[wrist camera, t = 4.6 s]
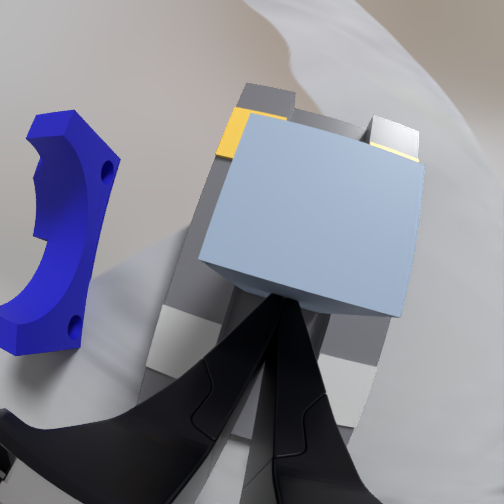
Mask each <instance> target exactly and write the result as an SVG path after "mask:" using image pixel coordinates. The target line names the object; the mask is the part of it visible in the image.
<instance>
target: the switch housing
mask: <svg viewBox="0 0 504 504" xmlns="http://www.w3.org/2000/svg"><path fill="white" fill-rule="evenodd" d="M295 94H296V93H295V92H291V91H286V90H281V89H277V88H272V87H267V86H262V85H257V84H251V83H246V85H245V87H244V90H243V92H242V94H241V96H240V99H239V101H238V104H237V106H236V107H234V110H233V112H232V114H231V117H230V119H229V121H228V124H227V126H226V129H225V131H224V134H223V136H222V138H221V141H220V143H219V146H218V148H217V151H216V153H215V155H216V157H215V160H214V162H213V165H212V167H211V170H210V173H209V175H208V178H207V181H206V183H205V186H204V188H203V191H202V194H201V196H200V199H199V202H198V205H197V207H196V210H195V213H194V216H193V219H192V221H191V224H190V227H189V230H188V233H187V236H186V239H185V242H184V245H183V248H182V251H181V254H180V257H179V260H178V263H177V266H176V269H175V272H174V275H173V278H172V281H171V284H170V288H169V291H168V294H167V297H166V300H165V304H164V305H162V309H161V312H160V315H159V319H158V322H157V326H156V329H155V333H154V336H153V340H152V343H151V347H150V351H149V354H148V358H147V362H146V365H145V366H147V367H146V371H145V375H144V378H143V382H142V386H141V390H140V394H139V398H138V402H137V405H138V404H140V403H142V402H143V401H145V400H146V399H148V398H149V397H151V396H153V395H154V394H156V393H157V392H159V391H160V390H162V389H163V388H165V387H166V386H168V385H169V384H171V383H172V382H173V381H175V380H176V379H178V378H179V377H180V376H182V375H183V374H184V373H185V372H186V371H188V370H189V369H190V368H191V367H192V366H193V365H195V364H196V363H197V362H198V361H199V360H200V359H203V357H204V356H205V355H206V354H207V353H208V352H209V351H210V350H211V349H212V348H213V347H215V346H216V345H217V344H218V343H219V342H220V341H221V340H222V339H223V338H224V337H225V336H226V335H227V334H229V333H230V332H231V331H232V330H233V329H234V328H235V327H236V326H237V325H238V324H239V323H240V322H241V321H242V320H243V319H245V318H246V317H247V316H248V315H249V314H250V313H251V312H252V311H253V310H254V309H255V308H256V307H257V306H258V305H259V304H260V303H261V302H262V301H263V300H264V299H266V298H265V297H261V296H258V295H255V294H251V293H248V292H245V291H243V290H242V289H240V288H239V287H238V286H236V285H235V284H233V283H232V282H230V281H229V280H227V279H226V278H224V277H223V276H222V275H220V274H219V273H217V272H216V271H214V270H213V269H211V268H210V267H209V266H207V265H206V264H204V263H203V262H201V261H200V260H199V259H198V257H199V254H200V251H201V248H202V245H203V242H204V239H205V236H206V233H207V230H208V228H209V225H210V222H211V219H212V216H213V213H214V210H215V207H216V204H217V202H218V199H219V196H220V193H221V190H222V187H223V185H224V182H225V179H226V176H227V174H228V171H229V168H230V165H231V163H232V160H233V157H234V155H235V152H236V149H237V147H238V144H239V141H240V139H241V136H242V134H243V131H244V128H245V126H246V123H247V121H248V118H249V116H250V113H254V114H259V115H264V116H268V117H273V118H277V119H282V120H286V121H290V122H294V123H298V124H302V125H306V126H309V127H313V128H317V129H321V130H324V131H328V132H331V133H335V134H338V135H341V136H345V137H348V138H351V139H354V140H357V141H360V142H364V143H367V144H370V145H373V146H376V147H378V148H381V149H384V150H387V151H390V152H393V153H395V154H398V155H401V156H403V157H406V158H409V159H411V160H414V161H416V162H419V159H418V146H419V132H418V131H416V130H414V129H411V128H408V127H406V126H403V125H401V124H398V123H395V122H393V121H390V120H387V119H384V118H381V117H379V116H376V115H373V117H372V119H371V121H370V123H369V125H368V127H367V129H366V128H363V127H360V126H357V125H353V124H350V123H347V122H344V121H340V120H337V119H333V118H330V117H326V116H323V115H319V114H315V113H312V112H307V111H303V110H300V109H296V108H294V105H295ZM301 310H302V314H303V317H304V320H305V323H306V326H307V329H308V333H309V336H310V339H311V342H312V346H313V349H314V352H315V355H316V359H317V362H318V365H319V369H320V372H321V375H322V379H323V382H324V385H325V389H326V394H327V395H328V399H329V402H330V405H331V409H332V412H333V415H334V418H335V421H336V423H337V426H338V428H339V431H340V433H341V436H342V438H343V440H344V443H345V445H346V446H347V444H348V442H349V439H350V437H351V435H352V432H353V430H354V428H356V427H357V424H358V422H359V419H360V417H361V414H362V411H363V409H364V406H365V404H366V401H367V398H368V395H369V393H370V390H371V387H372V384H373V381H374V378H375V375H376V372H377V369H378V367H377V364H378V361H379V358H380V354H381V351H382V348H383V344H384V341H385V338H386V334H387V330H388V327H389V323H390V319H391V317H376V316H357V315H341V314H326V313H317V312H313V311H309V310H306V309H302V308H301ZM264 364H265V363H264ZM263 369H264V365H263V368H262V370H261V372H260V374H259V377H258V379H257V381H256V383H255V385H254V387H253V389H252V391H251V394H250V396H249V398H248V400H247V402H246V404H245V406H244V408H243V410H242V412H241V414H240V416H239V418H238V420H237V423H236V425H235V427H234V429H233V431H232V433H231V434H234V435H237V436H240V437H244V438H247V439H251V440H252V434H253V428H254V423H255V417H256V411H257V405H258V399H259V393H260V387H261V381H262V375H263Z"/></svg>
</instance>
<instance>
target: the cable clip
mask: <svg viewBox="0 0 504 504" xmlns="http://www.w3.org/2000/svg"><path fill="white" fill-rule="evenodd" d="M26 139H27V140H28V141H29V142H30V143H31V144H32V145H33V146H34V148H35V149H36V150H37V152H38V153H39V155H40V160H39V162H38V165H37V168H36V171H35V174H34V177H33V179H34V185H35V191H36V220H35V227H34V233H33V236H34V237H37V238H39V239H42V240H45V241H47V245H46V248H45V252H44V255H43V257H42V260H41V262H40V265H39V267H38V269H37V271H36V273H35V274H34V276H33V278H32V279H31V281H30V282H29V283H28V285H27V286H26V287H25V289H24V290H23V291H22V292H21V293H20V294H19V295H18V296H16V297H15V298H14V299H12V300H11V301H9V302H8V303H5V304H3V305H1V306H0V348H2V349H3V350H5V351H7V352H9V353H11V354H13V355H14V356H20V355H29V354H37V353H45V352H52V351H59V350H66V349H73V348H80V346H81V336H82V327H83V319H84V312H85V305H86V298H87V292H88V286H89V281H90V280H91V278H92V272H93V266H94V262H95V256H96V252H97V247H98V243H99V238H100V234H101V229H102V225H103V221H104V217H105V213H106V209H107V205H108V202H109V198H110V194H111V190H112V187H113V184H114V180H115V177H116V174H117V171H118V167H119V164H120V161H121V159H120V158H119V157H118V156H117V155H116V154H115V153H114V152H113V151H112V150H111V148H109V146H108V145H107V144H106V143H105V142H104V141H103V140H102V139H101V138H100V137H99V136H98V135H97V134H96V133H95V132H94V131H93V129H92V128H91V127H90V126H89V125H88V124H87V123H86V122H85V121H84V120H83V119H82V117H81V116H80V115H79V114H78V113H77V112H76V111H75V110H68V111H60V112H53V113H47V114H40V115H36V117H35V119H34V121H33V123H32V125H31V128H30V130H29V132H28V135H27V137H26Z"/></svg>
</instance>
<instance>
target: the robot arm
mask: <svg viewBox="0 0 504 504" xmlns="http://www.w3.org/2000/svg"><path fill="white" fill-rule="evenodd" d="M264 363H265V364H264ZM263 365H264V369H263V375H262V381H261V387H260V393H259V399H258V405H257V411H256V417H255V423H254V428H253V434H252V440H251V445H250V451H249V456H248V462H247V467H246V472H245V478H244V483H243V488H242V489H243V490H242V493H241V498H240V503H239V504H383V503H381V502H380V501H379V500H378V499H377V498H376V497H375V496H374V495H373V494H372V493H371V492H370V491H369V490H368V489H367V488H366V487H365V485H364V484H363V482H362V480H361V479H360V477H359V475H358V473H357V470H356V468H355V466H354V463H353V461H352V459H351V457H350V454H349V452H348V450H347V447H346V445H345V443H344V440H343V438H342V436H341V433H340V431H339V428H338V426H337V423H336V421H335V418H334V415H333V412H332V409H331V405H330V402H329V399H328V395H327V394H326V389H325V385H324V382H323V379H322V375H321V372H320V369H319V365H318V362H317V359H316V355H315V352H314V349H313V346H312V342H311V339H310V336H309V333H308V329H307V326H306V323H305V320H304V317H303V314H302V310H301V307H300V304H299V302H298V301H297V300H293V299H290V298H285V299H284V297H283V296H280V295H276V294H273V293H271V294H270V295H269V296H268V297H267V298H266V299H264V300H263V301H262V302H261V303H260V304H259V305H258V306H257V307H256V308H255V309H254V310H253V311H252V312H251V313H250V314H249V315H248V316H247V317H246V318H245V319H243V320H242V321H241V322H240V323H239V324H238V325H237V326H236V327H235V328H234V329H233V330H232V331H231V332H230V333H229V334H227V335H226V336H225V337H224V338H223V339H222V340H221V341H220V342H219V343H218V344H217V345H216V346H215V347H213V348H212V349H211V350H210V351H209V352H208V353H207V354H206V355H205V356H204V357H203V359H200V360H199V361H198V362H197V363H196V364H195V365H193V366H192V367H191V368H190V369H189V370H188V371H186V372H185V373H184V374H183V375H182V376H180V377H179V378H178V379H176V380H175V381H173V382H172V383H171V384H169V385H168V386H166V387H165V388H163V389H162V390H160V391H159V392H157V393H156V394H154V395H153V396H151V397H149V398H148V399H146V400H145V401H143V402H142V403H140V404H138V405H137V406H135V407H134V408H132V409H130V410H129V411H127V412H125V413H123V414H121V415H119V416H117V417H114V418H111V419H108V420H103V421H98V422H93V423H88V424H82V425H76V426H70V427H64V428H57V429H46V430H44V429H37V428H34V427H31V426H29V425H27V424H25V423H24V422H23V421H21V420H20V419H19V418H18V417H16V416H15V415H14V414H13V413H11V412H10V411H9V410H7V409H5V408H3V409H0V504H194V503H195V501H196V499H197V497H198V495H199V494H200V492H201V490H202V488H203V486H204V484H205V483H206V481H207V479H208V477H209V475H210V473H211V471H212V469H213V468H214V466H215V464H216V462H217V460H218V458H219V456H220V454H221V452H222V450H223V448H224V446H225V444H226V442H227V440H228V439H229V437H230V435H231V433H232V431H233V429H234V427H235V425H236V423H237V420H238V418H239V416H240V414H241V412H242V410H243V408H244V406H245V404H246V402H247V400H248V398H249V396H250V394H251V391H252V389H253V387H254V385H255V383H256V381H257V379H258V377H259V374H260V372H261V370H262V368H263Z"/></svg>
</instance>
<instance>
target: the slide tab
mask: <svg viewBox="0 0 504 504" xmlns="http://www.w3.org/2000/svg"><path fill="white" fill-rule="evenodd" d="M424 173H425V165H424V164H421V163H419V162H416V161H414V160H411V159H409V158H406V157H403V156H401V155H398V154H395V153H393V152H390V151H387V150H384V149H381V148H378V147H376V146H373V145H370V144H367V143H364V142H360V141H357V140H354V139H351V138H348V137H345V136H341V135H338V134H335V133H331V132H328V131H324V130H321V129H317V128H313V127H309V126H306V125H302V124H298V123H294V122H290V121H286V120H282V119H277V118H273V117H268V116H264V115H259V114H254V113H250V116H249V118H248V121H247V123H246V126H245V128H244V131H243V134H242V136H241V139H240V141H239V144H238V147H237V149H236V152H235V155H234V157H233V160H232V163H231V165H230V168H229V171H228V174H227V176H226V179H225V182H224V185H223V187H222V190H221V193H220V196H219V199H218V202H217V204H216V207H215V210H214V213H213V216H212V219H211V222H210V225H209V228H208V230H207V233H206V236H205V239H204V242H203V245H202V248H201V251H200V254H199V257H198V259H199V260H200V261H201V262H203V263H204V264H206V265H207V266H209V267H210V268H211V269H213V270H214V271H216V272H217V273H219V274H220V275H222V276H223V277H224V278H226V279H227V280H229V281H230V282H232V283H233V284H235V285H236V286H238V287H239V288H240V289H242V290H243V291H245V292H248V293H251V294H255V295H258V296H261V297H265V298H267V297H268V296H269V295H270V294H271V293H273V294H276V295H280V296H283V297H284V299H285V298H290V299H293V300H297V301H298V302H299V304H300V307H301V308H302V309H306V310H309V311H313V312H317V313H326V314H341V315H357V316H376V317H401V313H402V309H403V305H404V301H405V297H406V292H407V288H408V283H409V278H410V273H411V268H412V263H413V258H414V252H415V246H416V240H417V234H418V227H419V220H420V212H421V204H422V195H423V185H424Z"/></svg>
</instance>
